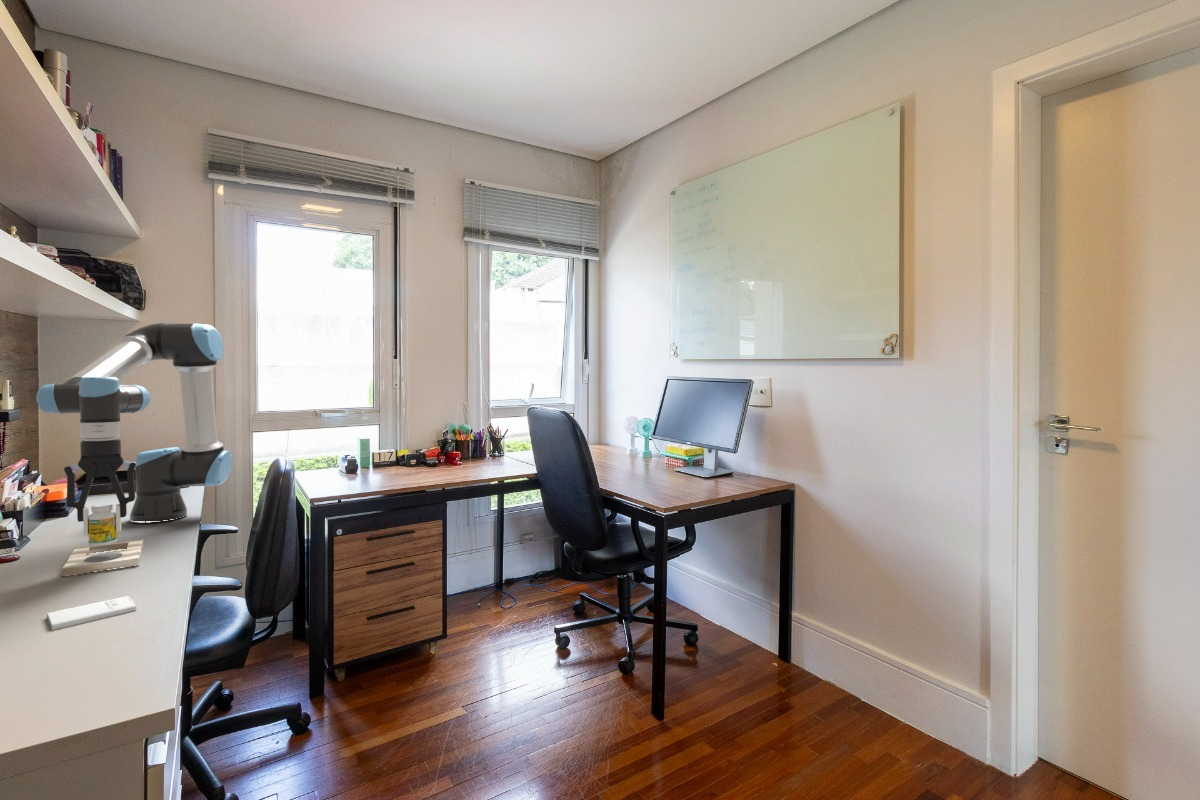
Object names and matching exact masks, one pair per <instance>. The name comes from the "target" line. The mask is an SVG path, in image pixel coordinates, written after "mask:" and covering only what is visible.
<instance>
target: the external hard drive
mask: <svg viewBox="0 0 1200 800" xmlns="http://www.w3.org/2000/svg"><path fill="white" fill-rule="evenodd" d="M134 610H135V611H137V605H136V604H135V603H134V601H133V600H132V598H130V596H129V595H126V596H121V597H117V598H111V599H108V600H102V601H99V602H98V601H97V602H93V603H89V604H84V605H79V606H74V607H70V608H65V609H61V610H60V609H59V610H56V611H51V612H47V613H46V619H47V621H48V623H49V626H50V630H52V631H55V630H58V629H63V628H67V627H71V626H77V625H79V624H84V623H85V624H86V623H88V622H93V621H97V620H100V619H106V618H109V617H114V616H119V615H122V614H126V613H130V612H135V611H134Z"/></svg>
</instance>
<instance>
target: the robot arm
mask: <svg viewBox="0 0 1200 800" xmlns="http://www.w3.org/2000/svg"><path fill="white" fill-rule="evenodd" d="M223 352H224V344H223V339H222V336H221V334H220V332H219V331H218V330H217V329H216V328H215V327H214V326H213V325H211V324H205V323H204V324H203V323H202V324H201V323H197V322H195V323H166V322H157V323H152V324H147V325H145V326H142V327H140V328H138V329H135V330H132V331H130V332H127V334H125V335H124V336H122V337H121V338H119V339H118V340H117V342H116V344H115V346H114V347H113V348H111V349H110V350H109V351H107V352H106V353H104V354H103V355H101V356H100V357H99V358H97V359H96V360H94V361H93V362H91V363H90V364H89V365H86V367H84V368H83V369H81V370H80V371H78V372H77V373H75V374H74V375H73V376H71V377H70V378H69V379H67V380H65V381H64V382H62V383H53V384H51V383H50V384H49V383H48V384H43V385H42V386H41V387H40V388H39V389H38V391H37V393H36V403H37V406H38V408H39V409H40V410H41V411H43V412H45V413H48V414H60V415H62V414H79V416H80V417H79V431H80V432H79V437H80V438H81V439H82V441H80V459H79V461H78V462H77V463H75V464H72V465H66V466H65V467H63V469H64V473H65V475H66V477H67V479H66V506H67V507H68V508H74V509H76V515H77V516H76V517H77V518H76V519H77V522H78V523H80V522H83V523H82V524H83V536H89V531H88V517H89V516H90V507H89V506H86V502H87V500H88V496H89V493H90V491H91V487H92V485H93V482H94V479H95V478H100V477H105V478H106V477H108V479H109V481H110V483H111V485H112V488H113V490H114V493H115V495H116V499H117V500H118V503H116V505H115V513H116V532H117V533H118V532H121V531H122V518H125V517H127V504H128V503H131V502H134V503H133V505H132V508H131V512H130V514H129V521H130V520H132V521H145V522H146V521H163V520H170V519H176V518H180V517H183V516H186V515H187V516H188V508H187V505H186V503H185V501H184V498H183V496H182V494H181V493H182V492H181V487H211V486H213V487H214V486H221V485H222V484H223V483H225V482H226V481H227V479H228V478H229V476H230V474H231V471H232V466H233V456H232V453H231V452H230V451H229V450H225V449H224V443H222V442H221V441H219V440H218V430H217V420H216V419H217V417H216V406H215V395H214V383H213V382H214V381H213V371H212V370H213V369H215V368H216V366H217V361H219V360H221V359H222V357H223V355H224V354H223ZM156 360H157V361H158V360H168V361H169V360H171V361H172V365H173V367H174V368H175V369H176V370H177V371H179V378H180V387H181V388H180V389H181V400H182V409H183V411H182V412H183V419H184V422H183V423H184V431H185V432H184V433H185V444H184V445H183V446H182V447H181V448H180V447H178V446H174V447H164V448H158V449H151V450H146V451H142V452H139V453H137V454H136V456H135V461H128V460H124V458H123V457H122V448H121V447H122V446H121V445H122V444H121V443H122V441H121V440H120V439H119V438H120V437H122V436H121V433H122V432H121V414H135V413H138V412H141V411H144V410H145V409H147V407H148V406H149V405H150V402H151V395H150V392H149V390H148V389H146V387H144V386H141V385H139V384H133V383H130V384H129V383H126V384H120V381H121V380H122V379H123V378H124V377H126V375H128V374H130V373H131V372H132V371H133V370H134V369H135V368H137V367H138V366H141V365H146V364H148V363H149V362H151V361H156ZM122 466H123V467H124V469H125V471H126V476H127V477H126V478H127V491H128V492H127V493H128V496H127V497H126V496H125V493H124V490H123V488H122V486H121V483H120V480H119V478H118V475H117V471H118V470H119V469H120V468H121V467H122ZM79 468H80V469H81V470H82V471H83V472H84V473H85V474H86V478H85V481H84V484H83V487H82V490H81V492H80V496H79V498H78V501H76V473H78V471H79ZM187 516H186V517H187Z"/></svg>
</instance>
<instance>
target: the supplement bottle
mask: <svg viewBox="0 0 1200 800" xmlns="http://www.w3.org/2000/svg"><path fill="white" fill-rule="evenodd" d="M113 505H114V504H113V503H110V502H109V503H108V502H107V503H97V504H94V505H93V504H92V505H91V508H90V509H91V510H90V511H91V512H92V513H91V514H89V517H88V531H89V534H88V544H89V545H88V546H101V545H107V544H112V543H117V541H118V532H116V511H113Z"/></svg>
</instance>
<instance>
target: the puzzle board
mask: <svg viewBox="0 0 1200 800" xmlns="http://www.w3.org/2000/svg"><path fill="white" fill-rule="evenodd" d="M118 549H126V550H121V551H113V552H106V553H98V554H90V553H96V552H104V551H111V550H118ZM142 549H143V550H144V539H137V540H127V541H122V542H121V541H119V542H115V543H112V544H107V545H101V546H91V545H88V546H81V547H74V550H73V551H72V553H71V554H70V556H68V558H67V560H66V561H65V564H64V565H63V567H62V569H61V573H62V576H67V575H74V574H81V575H83V574H82V573H87V574H89V573H88V572H94V571H100V570H107V569H113V568H120V567H129V566H135V565H139V566H140V563H139V562H141V559H140V557H141V558H142V554H141V553H143V550H142ZM89 554H90V555H89ZM135 567H136V566H135ZM129 568H130V567H129ZM94 573H95V572H94ZM62 576H61V577H62ZM74 576H75V575H74ZM67 577H68V576H67Z"/></svg>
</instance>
